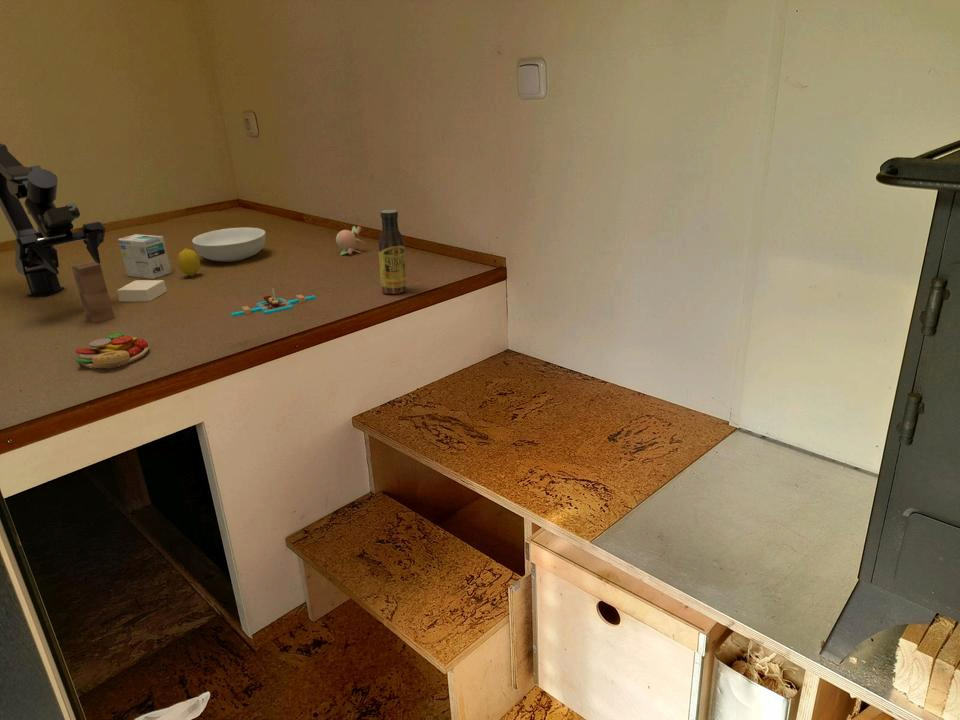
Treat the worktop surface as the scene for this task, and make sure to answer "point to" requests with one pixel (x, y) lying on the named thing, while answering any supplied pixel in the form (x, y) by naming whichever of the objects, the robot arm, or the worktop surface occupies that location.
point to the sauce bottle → (391, 254)
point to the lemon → (188, 262)
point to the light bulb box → (144, 256)
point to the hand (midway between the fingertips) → (78, 268)
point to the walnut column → (93, 291)
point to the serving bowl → (230, 243)
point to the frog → (348, 240)
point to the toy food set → (112, 351)
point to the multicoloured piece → (273, 305)
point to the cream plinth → (142, 290)
